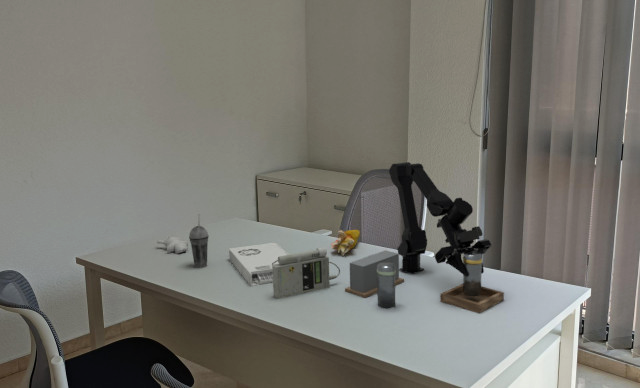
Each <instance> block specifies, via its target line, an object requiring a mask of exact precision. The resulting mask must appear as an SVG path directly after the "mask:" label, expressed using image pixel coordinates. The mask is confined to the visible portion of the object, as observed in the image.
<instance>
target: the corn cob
mask: <svg viewBox="0 0 640 388" xmlns="http://www.w3.org/2000/svg"><path fill="white" fill-rule="evenodd" d="M338 235H339V236H338V238H337V239H336V240H335V241H334V242H331V243H330V247H331V249H332V250H334V251H337V254H341V257H344V255H346V253H348V252H349V251H350V250H352V249H354V247H356V245H357V243H358V239H359V238H360V236H361V231H360V230H359V229H352V230H351V229H349V230H346V231H345V230H342V229H340V230H338Z"/></svg>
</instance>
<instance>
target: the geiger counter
mask: <svg viewBox="0 0 640 388" xmlns="http://www.w3.org/2000/svg"><path fill="white" fill-rule="evenodd" d="M327 254H328V253H327V248H326V247H325V246H323V247H319V248H316V249H312V250H306V251H302V252H296V253H295V252H294V253H290V254H289V255H284V256H279V257H278V260H276V261H275V262H273V263H272V271H273V282H272V287H273V288H272V289H273V297H274V298H276V299H281V298H288V297H291V296H297V295H300V294H301V295H302V294H306V293H311V292H314V291H319V290H323V289H329V288H330V287H331V286H330V284H331V283H330V281H332V280H334V279H337V278H338V276H340V274H341V270H340V267H339V266H338V264H336V263H334V262H332V261H330V257H329V256H328V255H327ZM277 261H278V262H279V264H274V263H276V262H277ZM330 264H332V265H334V266H335V267H336V268H337V270H338V274H337V275H336V274H335V275H330Z"/></svg>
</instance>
